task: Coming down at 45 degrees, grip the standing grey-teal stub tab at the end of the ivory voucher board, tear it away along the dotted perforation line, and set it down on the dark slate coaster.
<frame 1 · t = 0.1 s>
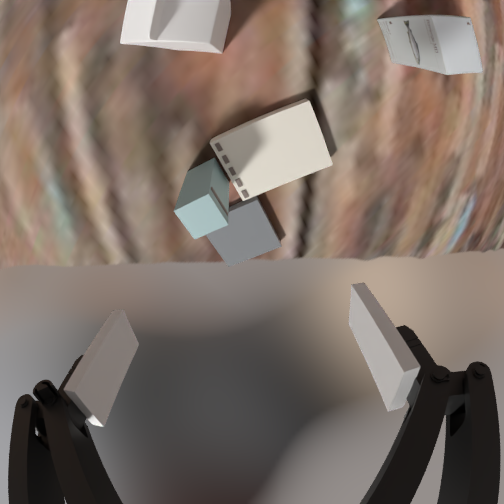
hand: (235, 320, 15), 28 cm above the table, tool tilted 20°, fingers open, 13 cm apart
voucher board: (272, 147, 36), on the table
coaster: (241, 230, 45), on the table
milk: (203, 31, 24), on the table
stub: (208, 176, 38), on the table
supplement box: (402, 38, 24), on the table
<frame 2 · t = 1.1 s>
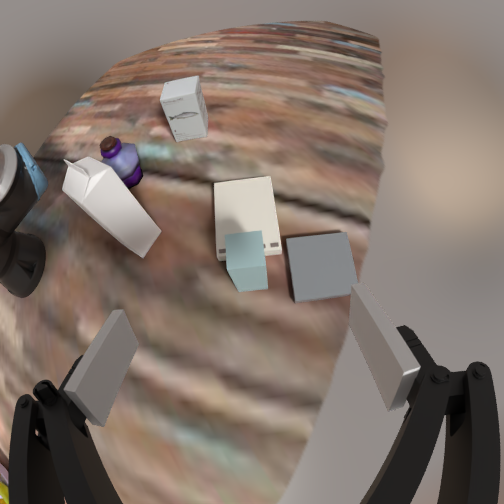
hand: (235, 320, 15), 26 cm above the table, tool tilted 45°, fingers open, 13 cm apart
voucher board: (246, 219, 46), on the table
fruit bowl: (11, 488, 23), on the table
coaster: (321, 267, 42), on the table
milk: (141, 238, 47), on the table
potion bottle: (132, 178, 52), on the table
stub: (251, 276, 42), on the table
supplement box: (193, 130, 56), on the table
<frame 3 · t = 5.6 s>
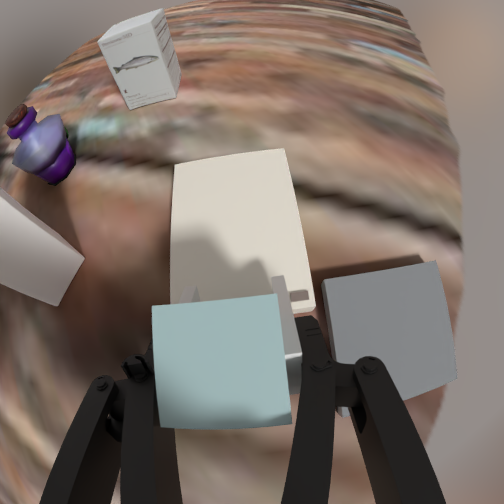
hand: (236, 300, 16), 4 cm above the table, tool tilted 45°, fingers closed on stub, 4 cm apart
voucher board: (236, 234, 22), on the table
coaster: (391, 336, 18), on the table
milk: (58, 269, 23), on the table
potion bottle: (62, 170, 29), on the table
stub: (248, 361, 18), on the table, touching gripper
supplement box: (157, 92, 33), on the table
when the fingers open (7 cm above the table, at t = 11.0 s): stub drops 1 cm, resting on coaster.
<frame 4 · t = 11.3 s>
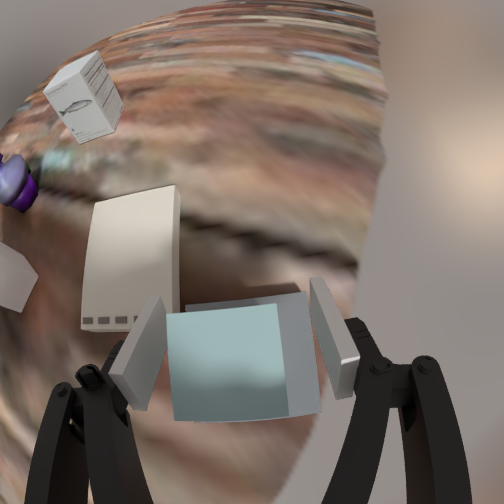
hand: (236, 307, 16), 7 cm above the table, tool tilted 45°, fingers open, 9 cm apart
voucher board: (133, 262, 25), on the table
coaster: (252, 360, 21), on the table
milk: (23, 283, 26), on the table
potion bottle: (29, 198, 32), on the table
stub: (250, 361, 20), point 1 cm above the table, touching coaster
supplement box: (103, 125, 36), on the table
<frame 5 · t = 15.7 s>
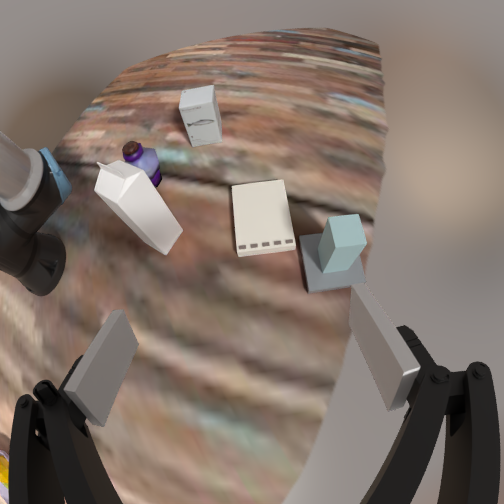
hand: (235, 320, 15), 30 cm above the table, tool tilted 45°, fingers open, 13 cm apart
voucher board: (262, 218, 50), on the table
fruit bowl: (25, 487, 27), on the table
coaster: (331, 261, 46), on the table
milk: (164, 237, 51), on the table
potion bottle: (151, 181, 57), on the table
stub: (332, 259, 45), point 1 cm above the table, touching coaster
supplement box: (207, 136, 61), on the table
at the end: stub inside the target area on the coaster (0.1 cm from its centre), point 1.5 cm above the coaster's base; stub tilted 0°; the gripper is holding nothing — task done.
